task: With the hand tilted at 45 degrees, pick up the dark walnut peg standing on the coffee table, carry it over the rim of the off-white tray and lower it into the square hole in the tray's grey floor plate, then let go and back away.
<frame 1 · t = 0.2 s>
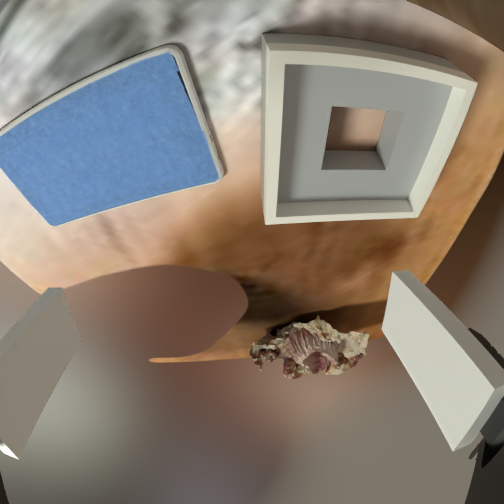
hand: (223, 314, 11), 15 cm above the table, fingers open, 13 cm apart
mineral formation: (303, 326, 56), on the table
tray: (351, 122, 21), on the table
blue rectangular panel: (95, 147, 22), on the table
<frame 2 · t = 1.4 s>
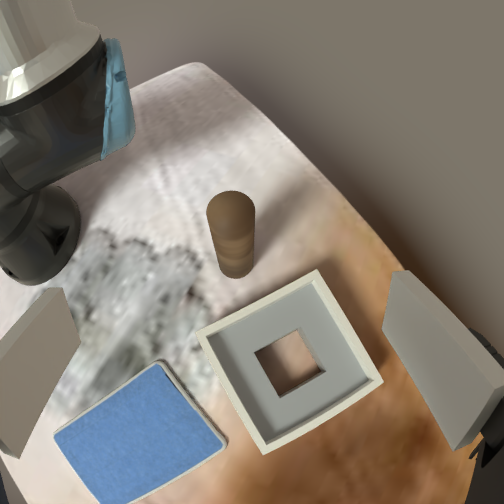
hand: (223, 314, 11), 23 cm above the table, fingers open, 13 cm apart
tray: (287, 363, 32), on the table
blue rectangular panel: (132, 443, 28), on the table
peg: (235, 262, 36), on the table
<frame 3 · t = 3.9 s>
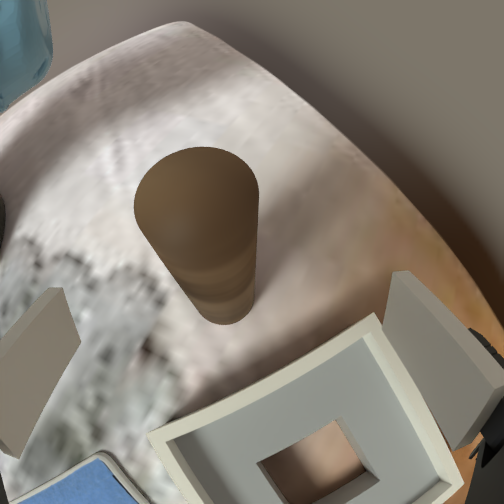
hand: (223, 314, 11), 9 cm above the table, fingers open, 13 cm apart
tray: (313, 464, 16), on the table
peg: (223, 295, 20), on the table
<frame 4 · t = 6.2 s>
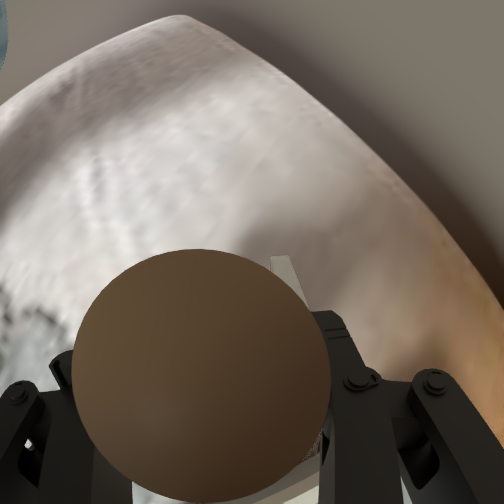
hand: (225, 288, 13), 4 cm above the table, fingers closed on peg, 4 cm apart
peg: (233, 377, 15), on the table, touching gripper
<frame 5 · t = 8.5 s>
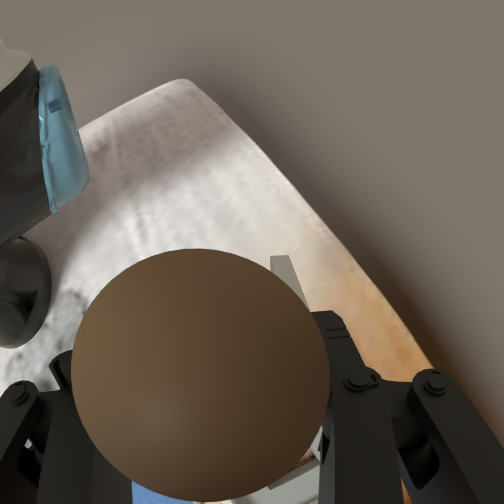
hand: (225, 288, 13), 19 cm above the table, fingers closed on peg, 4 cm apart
tray: (279, 450, 26), on the table
peg: (233, 377, 15), point 15 cm above the table, touching gripper
when the fingers open (5 cm above the table, at t = 11.3 s): peg drops 1 cm, resting in tray.
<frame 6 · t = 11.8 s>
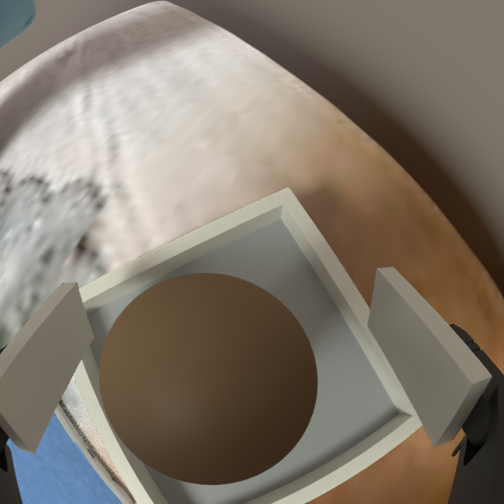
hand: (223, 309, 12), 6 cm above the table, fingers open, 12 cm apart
tray: (234, 377, 16), on the table
blue rectangular panel: (13, 478, 12), on the table
peg: (235, 378, 16), resting in tray
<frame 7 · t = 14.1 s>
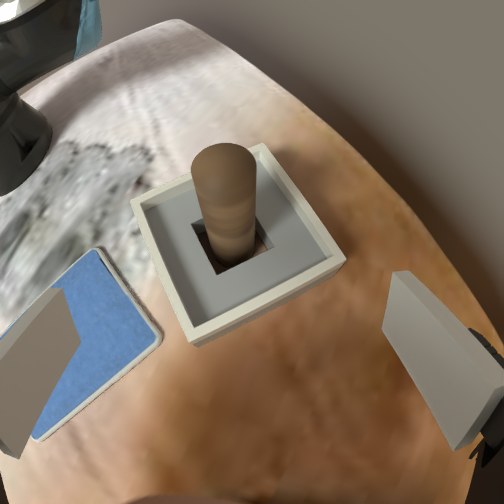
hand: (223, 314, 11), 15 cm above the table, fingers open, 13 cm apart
tray: (232, 246, 29), on the table
blue rectangular panel: (64, 349, 26), on the table
peg: (233, 247, 29), resting in tray
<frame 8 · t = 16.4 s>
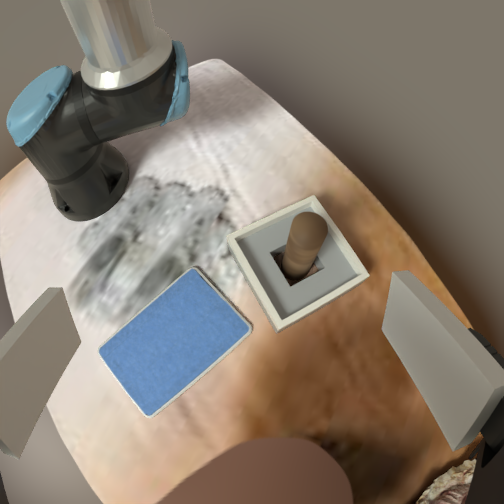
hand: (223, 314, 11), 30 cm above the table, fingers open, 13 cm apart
mineral formation: (440, 503, 28), on the table
tray: (294, 266, 44), on the table
blue rectangular panel: (172, 343, 40), on the table
peg: (295, 266, 44), resting in tray
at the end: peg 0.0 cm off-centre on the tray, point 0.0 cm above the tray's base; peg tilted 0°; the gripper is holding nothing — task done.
